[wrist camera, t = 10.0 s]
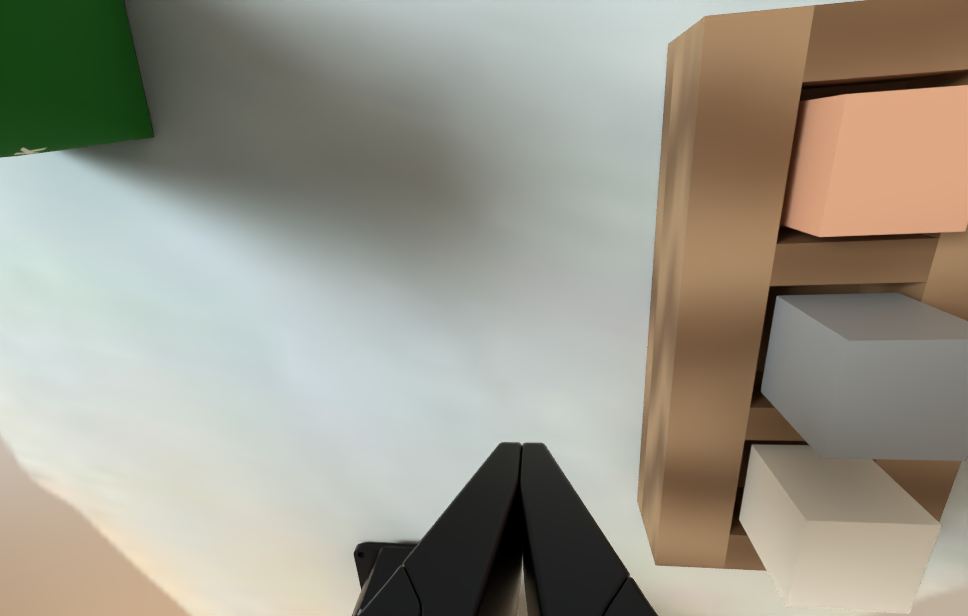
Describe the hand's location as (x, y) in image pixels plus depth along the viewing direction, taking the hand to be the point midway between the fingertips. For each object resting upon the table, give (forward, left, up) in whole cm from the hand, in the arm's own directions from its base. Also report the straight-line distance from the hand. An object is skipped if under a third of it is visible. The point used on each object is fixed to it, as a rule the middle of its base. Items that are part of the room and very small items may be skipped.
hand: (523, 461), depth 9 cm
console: (-2, -11, -13) cm, 17 cm away
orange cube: (+4, -11, -12) cm, 17 cm away
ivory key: (-9, -11, -9) cm, 17 cm away
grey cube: (-2, -11, -9) cm, 15 cm away
